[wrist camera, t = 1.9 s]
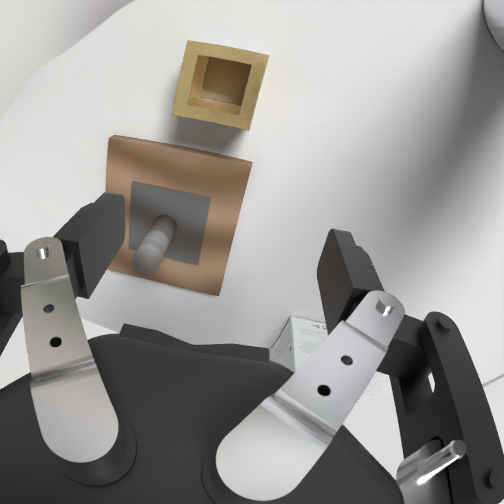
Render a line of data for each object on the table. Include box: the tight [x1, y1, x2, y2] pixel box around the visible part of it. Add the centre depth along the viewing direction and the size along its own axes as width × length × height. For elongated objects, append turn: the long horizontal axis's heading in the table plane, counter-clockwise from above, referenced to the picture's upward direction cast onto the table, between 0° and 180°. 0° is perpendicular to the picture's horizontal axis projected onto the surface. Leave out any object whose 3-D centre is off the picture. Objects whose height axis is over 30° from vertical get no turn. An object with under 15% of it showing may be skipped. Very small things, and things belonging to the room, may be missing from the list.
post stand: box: [106, 135, 252, 296], centre depth 29 cm, size 16×14×8 cm
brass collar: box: [172, 41, 269, 130], centre depth 23 cm, size 6×6×5 cm
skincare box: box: [270, 316, 345, 425], centre depth 36 cm, size 8×6×15 cm
